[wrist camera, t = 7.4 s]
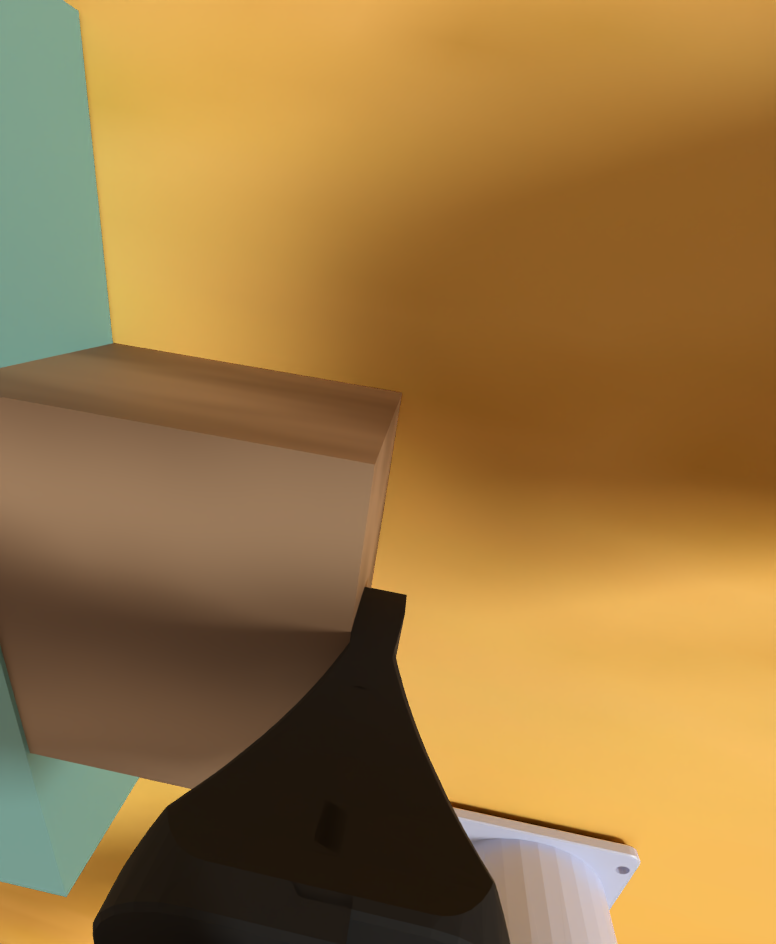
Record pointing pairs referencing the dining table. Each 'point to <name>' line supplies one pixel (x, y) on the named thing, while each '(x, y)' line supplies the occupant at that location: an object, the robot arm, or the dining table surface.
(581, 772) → the dining table surface
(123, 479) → the walnut block
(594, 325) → the dining table surface
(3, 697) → the teal board
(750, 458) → the dining table surface
